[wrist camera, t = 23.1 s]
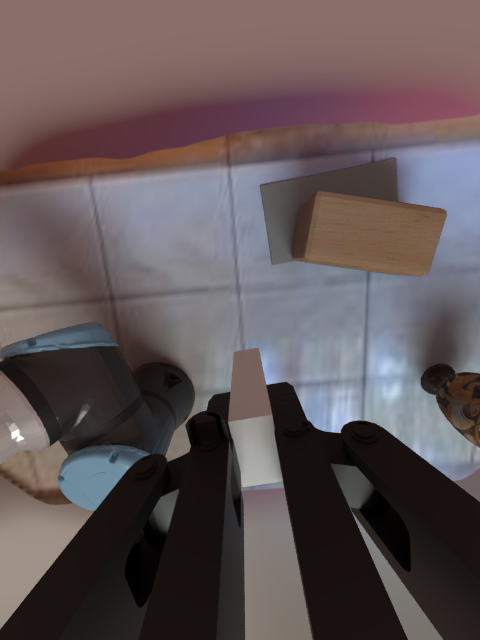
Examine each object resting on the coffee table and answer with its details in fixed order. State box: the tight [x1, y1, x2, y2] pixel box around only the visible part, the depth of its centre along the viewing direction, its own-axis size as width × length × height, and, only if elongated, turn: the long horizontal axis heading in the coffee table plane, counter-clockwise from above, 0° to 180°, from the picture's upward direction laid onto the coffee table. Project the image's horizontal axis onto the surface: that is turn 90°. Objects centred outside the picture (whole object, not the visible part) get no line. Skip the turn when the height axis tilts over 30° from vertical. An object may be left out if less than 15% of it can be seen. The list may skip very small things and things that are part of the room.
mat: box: [260, 158, 398, 265], centre depth 44 cm, size 24×14×1 cm, turn 101°
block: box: [292, 191, 447, 276], centre depth 40 cm, size 10×10×20 cm
